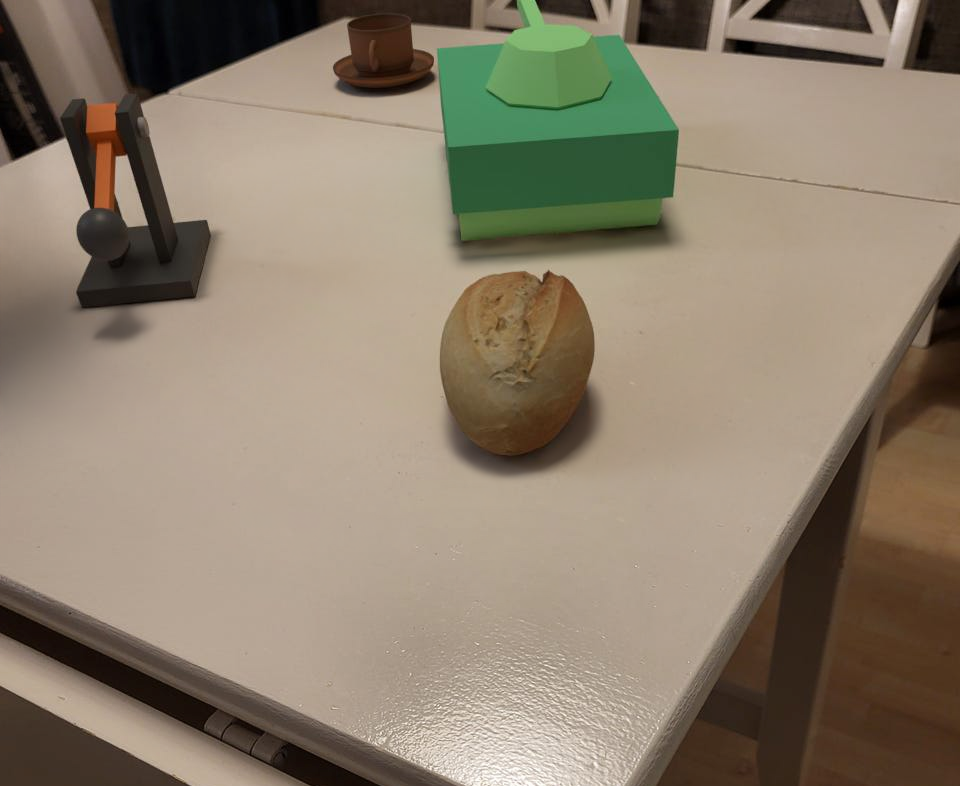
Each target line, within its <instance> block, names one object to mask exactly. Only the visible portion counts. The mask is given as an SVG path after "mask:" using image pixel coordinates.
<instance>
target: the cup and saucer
mask: <svg viewBox="0 0 960 786" xmlns="http://www.w3.org/2000/svg"><path fill="white" fill-rule="evenodd" d="M411 20H412V19H411V18H410V17H409V16H408V15H406V14H402V13H394V12H393V13H389V12H386V13H374V14H368V15H362V16H359V17H356V18H353V19H351V20H349V21H348V22H347V24H346V28H347V34H348V35H347V36H348V40H349V47H350V54H348V55H347V56H344V57H342V58H340V59H338V60H337V61H336V62H334V63H333V65H332V70H333V73H334V75H335V76H336V77H337V78H338V79H339V80H340V81H341V82H343V83H346V84H348V85H351V86H355V87H360V88H368V89H369V88H371V89H374V88H376V89H377V88H382V89H383V88H391V87H397V86H403V85H405V84H410V83H412V82H414V81H417V80H419V79H421V78H423V77H425V76H426V75H427V74H428V73H429V72H430V71H431V70H432V68H433V67H434V63H435V57H434V55H433V54H432V53H430V52H428V51H427V50H426V51H425V50H422V49H417V48H414V46H413V45H414V44H413V32H412V31H413V30H412V21H411Z"/></svg>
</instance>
